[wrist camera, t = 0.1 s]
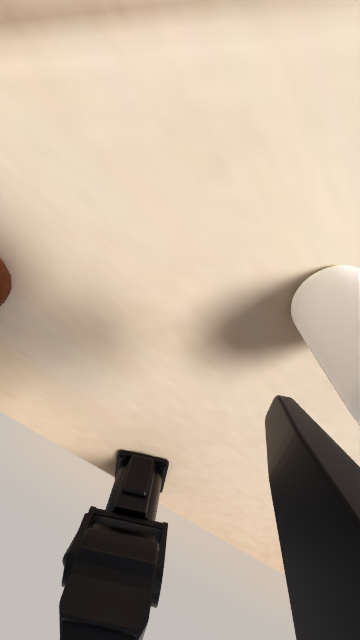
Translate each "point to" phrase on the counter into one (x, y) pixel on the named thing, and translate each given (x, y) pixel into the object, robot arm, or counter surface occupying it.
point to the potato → (4, 282)
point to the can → (333, 327)
